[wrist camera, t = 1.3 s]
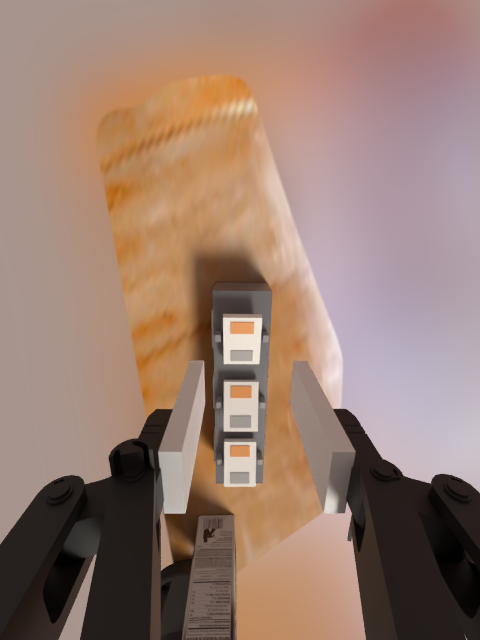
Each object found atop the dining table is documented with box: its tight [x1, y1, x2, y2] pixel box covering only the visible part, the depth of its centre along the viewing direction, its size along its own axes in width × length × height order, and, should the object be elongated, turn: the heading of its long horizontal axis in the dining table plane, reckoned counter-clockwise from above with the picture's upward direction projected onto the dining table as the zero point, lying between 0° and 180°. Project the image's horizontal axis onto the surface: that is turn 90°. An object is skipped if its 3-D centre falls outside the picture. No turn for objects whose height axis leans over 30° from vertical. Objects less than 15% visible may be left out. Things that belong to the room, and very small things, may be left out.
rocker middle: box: [224, 380, 259, 432], centre depth 33 cm, size 6×4×1 cm, turn 179°
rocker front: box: [223, 314, 262, 364], centre depth 30 cm, size 6×4×1 cm, turn 179°
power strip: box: [211, 282, 272, 483], centre depth 36 cm, size 27×7×6 cm, turn 179°
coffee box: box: [182, 515, 236, 640], centre depth 41 cm, size 9×6×16 cm
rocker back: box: [224, 439, 256, 487], centre depth 36 cm, size 6×4×1 cm, turn 179°
